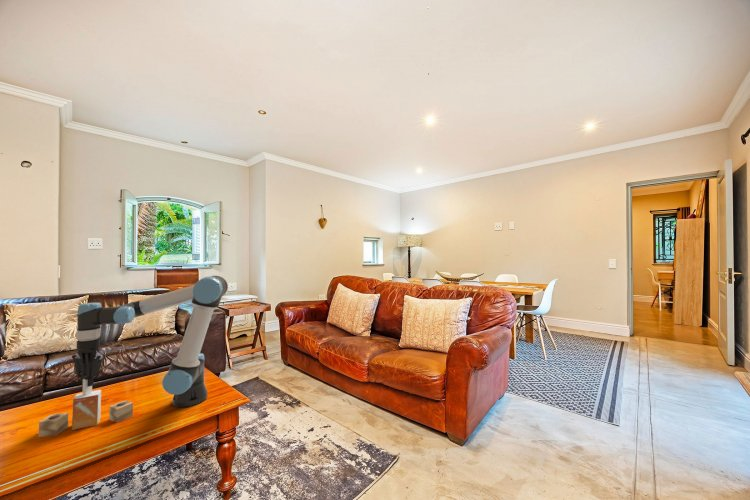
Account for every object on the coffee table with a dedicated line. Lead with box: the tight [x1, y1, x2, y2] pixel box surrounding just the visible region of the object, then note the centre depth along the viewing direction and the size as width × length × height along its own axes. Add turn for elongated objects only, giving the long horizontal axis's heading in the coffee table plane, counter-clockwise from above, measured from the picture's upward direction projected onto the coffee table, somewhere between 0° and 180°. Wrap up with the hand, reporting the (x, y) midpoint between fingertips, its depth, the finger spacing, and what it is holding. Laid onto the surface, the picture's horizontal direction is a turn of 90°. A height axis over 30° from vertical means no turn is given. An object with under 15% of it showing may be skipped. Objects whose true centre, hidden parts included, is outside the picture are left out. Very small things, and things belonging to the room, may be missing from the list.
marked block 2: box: [108, 400, 134, 423], centre depth 136 cm, size 6×6×6 cm
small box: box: [71, 389, 102, 431], centre depth 130 cm, size 8×6×13 cm
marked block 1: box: [38, 412, 70, 438], centre depth 125 cm, size 6×6×6 cm
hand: (87, 393), depth 130 cm, fingers closed
